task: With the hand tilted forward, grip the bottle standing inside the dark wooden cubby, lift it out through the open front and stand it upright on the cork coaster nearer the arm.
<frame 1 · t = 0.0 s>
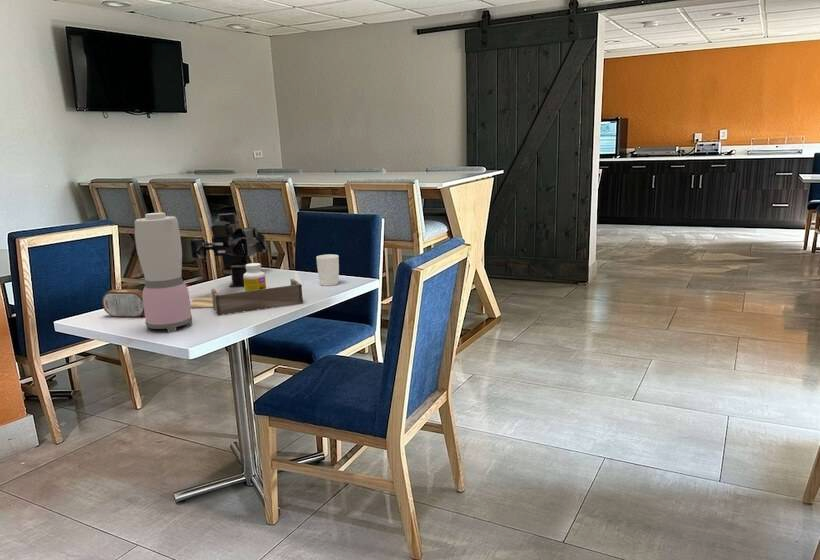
hand: (211, 252, 198), 17 cm above the table, tool horizontal, fingers open, 9 cm apart
coaster: (211, 302, 202), on the table
supplement bottle: (256, 304, 197), resting in cubby
tin: (127, 317, 189), on the table
white cup: (329, 284, 222), on the table
cubby: (256, 304, 197), on the table
blender: (166, 326, 176), on the table
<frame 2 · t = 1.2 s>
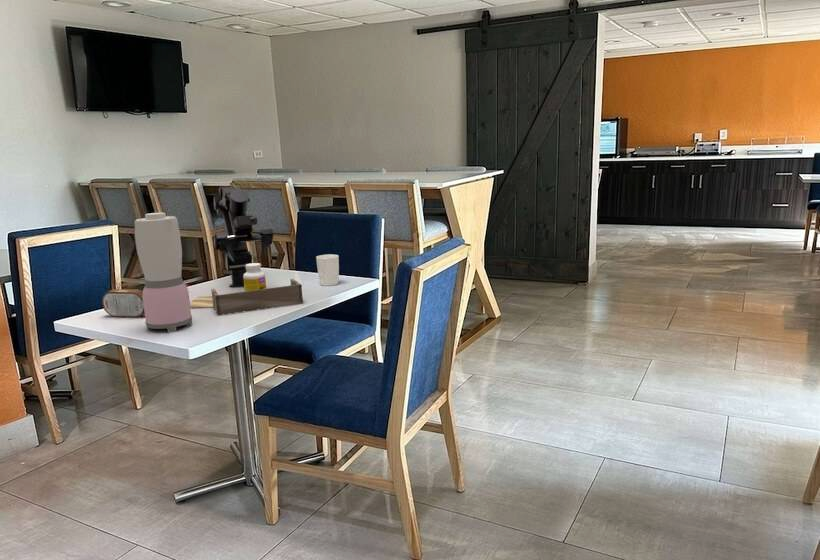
hand: (248, 259, 201), 13 cm above the table, tool tilted 45°, fingers open, 9 cm apart
nothing on the table moved.
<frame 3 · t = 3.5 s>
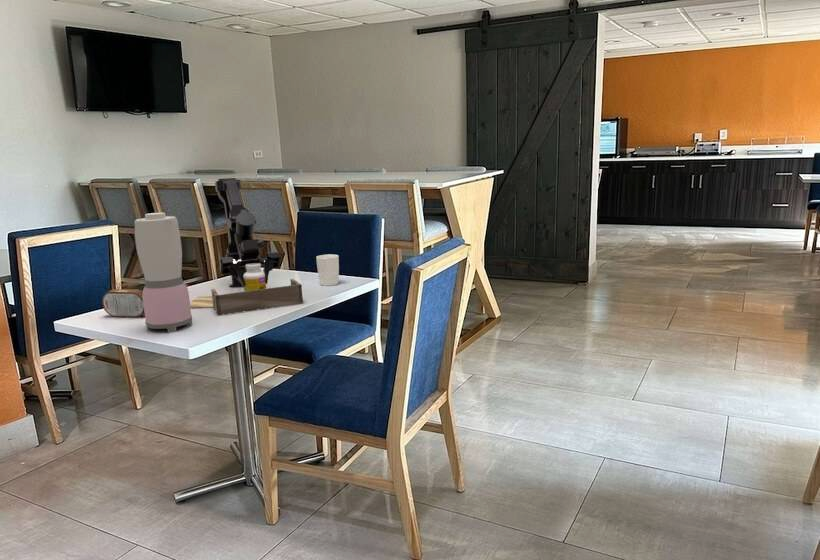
hand: (255, 284, 194), 7 cm above the table, tool tilted 45°, fingers closed on supplement bottle, 7 cm apart
supplement bottle: (256, 304, 197), resting in cubby, touching gripper
everything else where it was.
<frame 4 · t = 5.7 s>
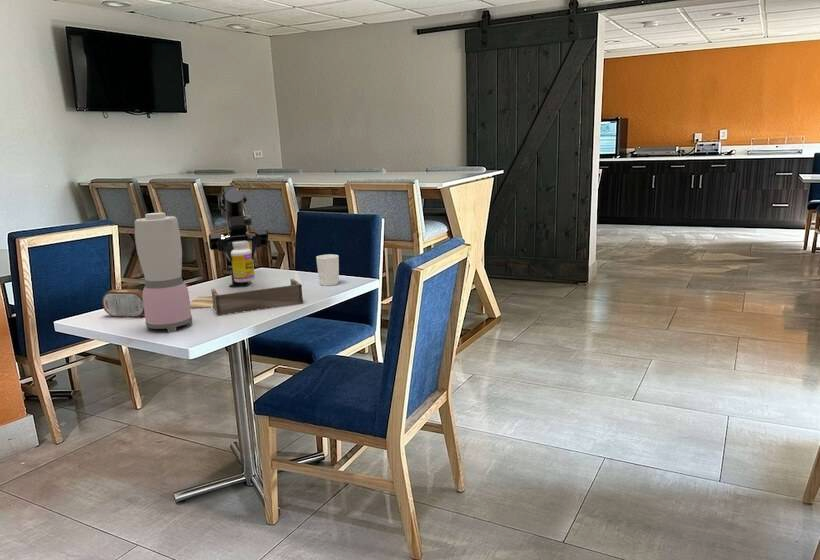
hand: (242, 260, 200), 13 cm above the table, tool tilted 45°, fingers closed on supplement bottle, 7 cm apart
supplement bottle: (244, 281, 203), point 6 cm above the table, touching gripper
everything else where it was.
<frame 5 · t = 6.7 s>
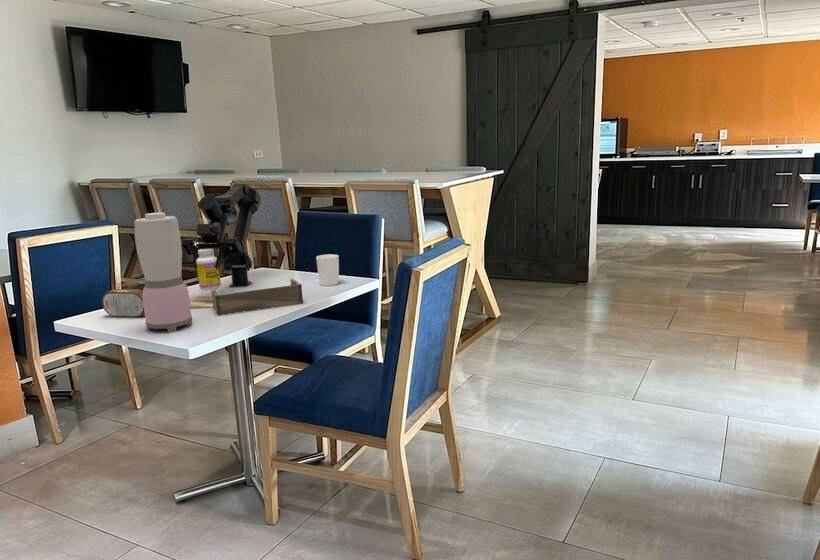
hand: (205, 268, 198), 12 cm above the table, tool tilted 45°, fingers closed on supplement bottle, 7 cm apart
supplement bottle: (210, 289, 201), point 4 cm above the table, touching gripper
everything else where it was.
when the fingers open (8 cm above the table, at t = 7.8 s): supplement bottle stays where it is, resting on coaster.
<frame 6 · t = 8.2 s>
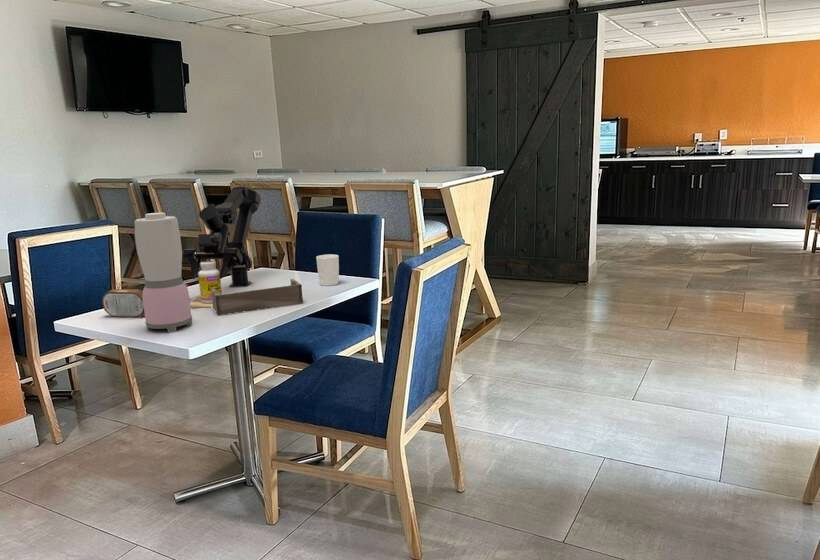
hand: (206, 278, 198), 8 cm above the table, tool tilted 45°, fingers open, 9 cm apart
supplement bottle: (212, 301, 202), resting on coaster
everything else where it was.
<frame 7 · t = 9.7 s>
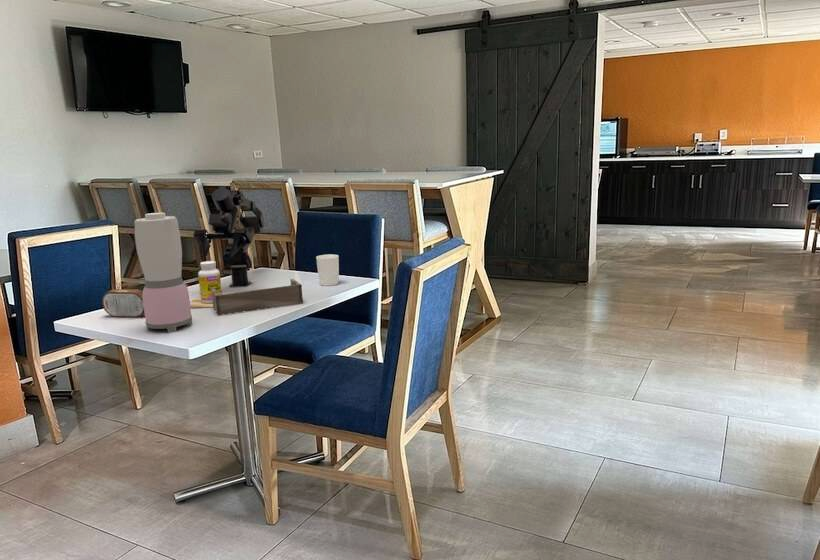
hand: (217, 256, 206), 14 cm above the table, tool tilted 45°, fingers open, 9 cm apart
nothing on the table moved.
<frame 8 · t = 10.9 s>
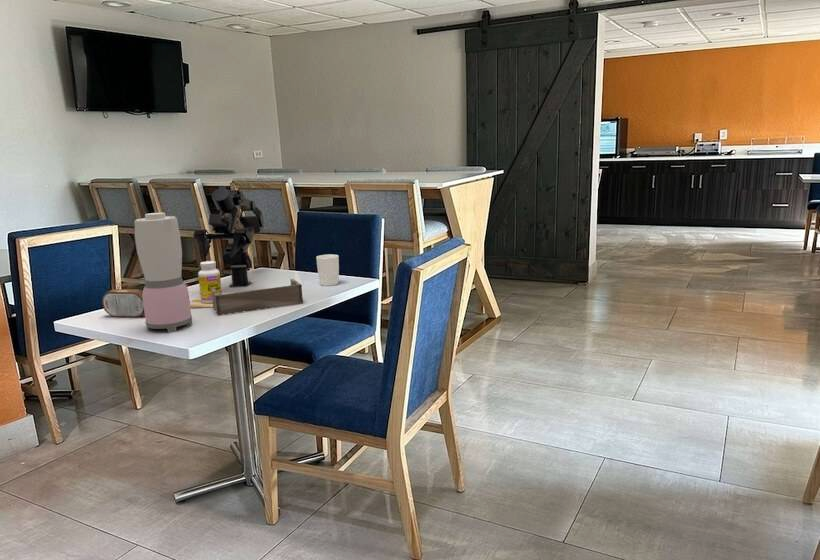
hand: (217, 257, 206), 14 cm above the table, tool tilted 45°, fingers open, 9 cm apart
nothing on the table moved.
at the end: supplement bottle inside the target area on the coaster (0.2 cm from its centre), point 0.2 cm above the coaster's base; supplement bottle tilted 0°; the gripper is holding nothing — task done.
